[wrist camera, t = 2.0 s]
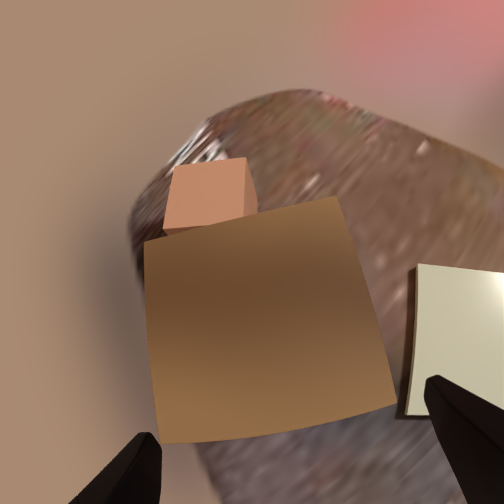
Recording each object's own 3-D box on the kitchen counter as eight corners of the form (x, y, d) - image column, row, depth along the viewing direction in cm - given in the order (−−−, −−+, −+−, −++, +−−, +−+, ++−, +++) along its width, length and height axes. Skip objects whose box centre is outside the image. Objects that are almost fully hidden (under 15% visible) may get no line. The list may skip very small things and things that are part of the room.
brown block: (336, 397, 18) (397, 402, 5) (259, 413, 18) (160, 444, 6) (320, 325, 20) (336, 195, 7) (246, 341, 20) (143, 241, 8)
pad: (522, 408, 14) (526, 408, 13) (404, 414, 16) (407, 414, 16) (522, 278, 18) (526, 276, 17) (415, 267, 20) (418, 263, 20)
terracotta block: (256, 258, 23) (242, 222, 18) (189, 261, 23) (162, 228, 19) (257, 199, 25) (245, 157, 20) (196, 205, 26) (174, 166, 21)
